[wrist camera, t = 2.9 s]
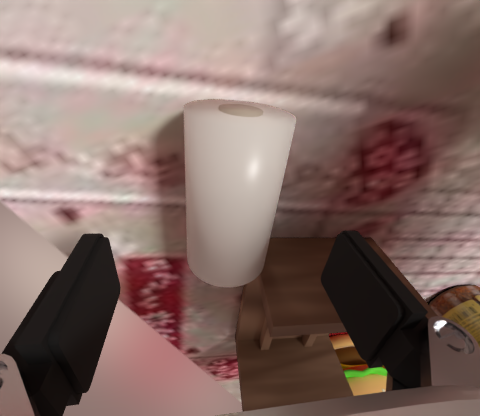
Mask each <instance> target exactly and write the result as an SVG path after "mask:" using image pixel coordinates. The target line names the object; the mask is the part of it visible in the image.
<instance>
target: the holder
mask: <svg viewBox="0 0 480 416" xmlns="http://www.w3.org/2000/svg"><path fill="white" fill-rule="evenodd" d="M364 239H365V240H366V241H367V243H368V244H369V245H370V246H371V247H372V248H373V249H374V251H375V252H376V253H377V254H378V255H379V256H380V257H381V259H382V260H383V261H384V262H385V263H386V264H387V265H388V267H389V268H390V269H391V270H392V271H393V272H394V273H395V275H396V276H397V277H398V278H399V279H400V280H401V281H402V283H403V284H404V285H405V286H406V287H407V288H408V289H409V291H410V292H411V293H412V294H413V295H414V296H415V297H416V299H417V300H418V301H419V302H420V303H421V304H422V305H423V307H424V308H425V309H426V310H427V311H428V313H427V314H426V315H425V316H426V317H427V318H428V320H429V319H430V318H431V317H435V316H438V315H437V314H436V313H435V312H434V311H433V310H432V308H431V307H430V306H429V305H428V304H427V303H426V301H425V300H424V299H423V298H422V297H421V295H420V294H419V293H418V292H417V291H416V290H415V288H414V287H413V286H412V285H411V284H410V283H409V281H408V280H407V279H406V278H405V277H404V275H403V274H402V273H401V272H400V271H399V270H398V268H397V267H396V266H395V265H394V264H393V263H392V261H391V260H390V259H389V258H388V257H387V256H386V254H385V253H384V252H383V251H382V250H381V248H380V247H379V246H378V245H377V244H376V243H375V241H374V240H373V239H372V238H364ZM335 240H336V238H270V241H269V245H268V250H267V254H266V258H265V263H264V267H263V270H262V272H261V273H260V274H259V276H258V277H257V278H256V279H254V280H253V281H251V282H250V283H248V284H245V285H244V288H243V294H242V299H241V305H240V311H239V317H238V323H237V329H236V334H235V341H236V351H237V361H238V371H239V381H240V390H241V400H242V410H243V412H244V411H251V410H258V409H265V408H272V407H279V406H286V405H293V404H300V403H307V402H314V401H321V400H328V399H335V398H342V397H350V396H354V395H353V392H352V390H351V388H350V385H349V383H348V381H347V378H346V376H345V373H344V371H343V369H342V366H341V364H340V362H339V359H338V357H337V354H336V352H335V350H334V347H333V345H332V343H331V340H330V338H329V334H330V333H340V332H347V331H346V329H345V327H344V325H343V323H342V321H341V320H340V318H339V316H338V314H337V312H336V310H335V308H334V306H333V304H332V302H331V301H330V299H329V297H328V295H327V293H326V291H325V289H324V287H323V285H322V283H321V275H322V272H323V270H324V267H325V265H326V262H327V260H328V257H329V255H330V252H331V250H332V247H333V245H334V242H335Z"/></svg>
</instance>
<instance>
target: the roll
mask: <svg viewBox="0 0 480 416" xmlns="http://www.w3.org/2000/svg"><path fill="white" fill-rule="evenodd" d="M296 121H297V119H296V117H295V116H294V115H293V114H291V113H289V112H287V111H285V110H282V109H279V108H276V107H273V106H269V105H264V104H259V103H254V102H246V101H235V100H224V99H207V100H197V101H192V102H189V103H187V104H185V105H184V147H185V189H186V231H187V262H188V265H189V267H190V269H191V271H192V272H193V274H194V275H195V276H196V277H198V278H199V279H200V280H202V281H204V282H205V283H208V284H210V285H213V286H217V287H226V288H229V287H238V286H242V285H245V284H248V283H250V282H251V281H253V280H254V279H256V278H257V277H258V276H259V274H260V273H261V272H262V270H263V267H264V263H265V258H266V254H267V250H268V245H269V241H270V236H271V232H272V227H273V223H274V218H275V214H276V210H277V205H278V201H279V196H280V192H281V187H282V183H283V178H284V174H285V170H286V165H287V161H288V156H289V152H290V147H291V143H292V138H293V134H294V130H295V125H296Z"/></svg>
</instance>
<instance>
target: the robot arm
mask: <svg viewBox="0 0 480 416" xmlns="http://www.w3.org/2000/svg"><path fill="white" fill-rule="evenodd" d="M321 283H322V285H323V287H324V289H325V291H326V293H327V295H328V297H329V299H330V301H331V302H332V304H333V306H334V308H335V310H336V312H337V314H338V316H339V318H340V320H341V321H342V323H343V325H344V327H345V329H346V331H347V333H348V335H349V337H350V339H351V340H352V342H353V344H354V346H355V348H356V350H357V352H358V354H359V355H360V357H361V358H362V359H363V360H365V361H366V363H367V365H368V367H369V368H377V367H382V366H383V365H384V367H385V369H386V370H387V381H386V392H379V393H371V394H364V395H357V396H350V397H342V398H335V399H328V400H321V401H314V402H307V403H300V404H293V405H286V406H279V407H272V408H265V409H258V410H251V411H244V412H237V413H230V414H224V415H218V416H480V347H479V345H478V343H477V341H476V340H475V339H474V337H473V336H472V335H471V334H470V333H469V332H468V331H467V330H466V329H465V328H463V327H462V326H460V325H459V324H458V323H456V322H454V321H452V320H450V319H447V318H444V317H439V316H435V317H431V318H430V319H429V320H428V318H427V317H426V316H425V315H426V314H427V313H428V311H427V310H426V309H425V308H424V307H423V305H422V304H421V303H420V302H419V301H418V300H417V299H416V297H415V296H414V295H413V294H412V293H411V292H410V291H409V289H408V288H407V287H406V286H405V285H404V284H403V283H402V281H401V280H400V279H399V278H398V277H397V276H396V275H395V273H394V272H393V271H392V270H391V269H390V268H389V267H388V265H387V264H386V263H385V262H384V261H383V260H382V259H381V257H380V256H379V255H378V254H377V253H376V252H375V251H374V249H373V248H372V247H371V246H370V245H369V244H368V243H367V241H366V240H365V239H364V238H363V237H362V236H361V235H360V233H359V232H357V231H342V232H341V233H340V234H339V235H337V237H336V240H335V242H334V245H333V247H332V250H331V252H330V255H329V257H328V260H327V262H326V265H325V267H324V270H323V272H322V275H321ZM119 294H120V283H119V279H118V275H117V271H116V266H115V262H114V258H113V254H112V250H111V246H110V242H109V239H108V238H107V237H104V236H103V235H102V234H83V235H82V237H81V238H80V240H79V241H78V243H77V245H76V246H75V248H74V250H73V251H72V253H71V254H70V256H69V258H68V259H67V261H66V263H65V264H64V266H63V268H62V269H61V271H57V272H55V273H54V274H53V275H52V276H51V277H50V279H49V281H48V282H47V284H46V285H45V287H44V288H43V290H42V292H41V293H40V295H39V296H38V298H37V299H36V301H35V303H34V304H33V306H32V307H31V309H30V310H29V312H28V313H27V315H26V317H25V318H24V319H23V321H22V323H21V324H20V326H19V327H18V329H17V330H16V332H15V334H14V335H13V337H12V338H11V340H10V341H9V343H8V344H7V346H6V347H5V349H4V351H3V352H2V354H0V416H63V413H64V410H65V408H66V406H69V405H76V404H79V402H80V399H81V396H82V393H86V392H87V391H88V390H89V388H90V385H91V382H92V379H93V376H94V373H95V370H96V367H97V364H98V361H99V357H100V354H101V351H102V348H103V345H104V342H105V339H106V335H107V332H108V329H109V326H110V323H111V320H112V317H113V313H114V310H115V307H116V304H117V301H118V298H119Z"/></svg>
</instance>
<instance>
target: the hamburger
mask: <svg viewBox="0 0 480 416" xmlns="http://www.w3.org/2000/svg"><path fill="white" fill-rule="evenodd" d="M329 338H330V340H331V343H332V345H333V347H334V350H335V352H336V354H337V357H338V359H339V362H340V364H341V366H342V369H343V371H344V373H345V376H346V378H347V381H348V383H349V385H350V388H351V390H352V392H353V395H354V396H357V395H364V394H371V393H379V392H386V381H387V370H386V369H385V367H384V365H383V366H382V367H377V368H369V367H368V365H367V363H366V361H365V360H363V359H362V358H361V357H360V355H359V354H358V352H357V350H356V348H355V346H354V344H353V342H352V340H351V339H350V337H349V335H348V334H342V335H335V336H331V337H329Z"/></svg>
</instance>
